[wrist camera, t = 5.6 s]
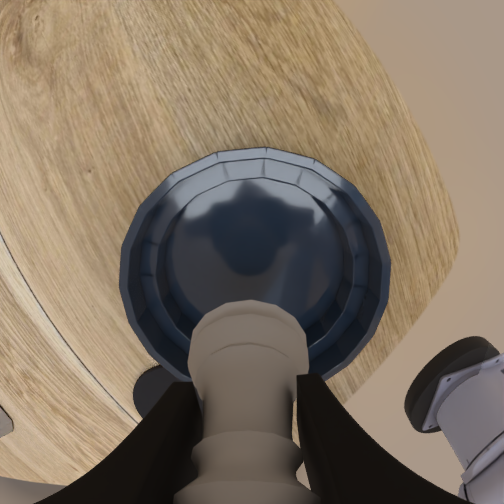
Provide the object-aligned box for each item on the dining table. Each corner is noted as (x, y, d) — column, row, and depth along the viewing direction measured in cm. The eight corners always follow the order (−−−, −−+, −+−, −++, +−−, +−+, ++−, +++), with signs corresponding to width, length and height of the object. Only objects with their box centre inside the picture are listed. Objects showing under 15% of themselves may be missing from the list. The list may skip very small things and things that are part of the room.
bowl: (359, 145, 15) (390, 143, 12) (357, 346, 19) (376, 382, 15) (129, 168, 16) (96, 172, 12) (169, 362, 20) (155, 401, 16)
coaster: (241, 360, 19) (241, 363, 19) (253, 439, 22) (253, 442, 22) (119, 362, 20) (117, 365, 19) (153, 437, 22) (152, 441, 22)
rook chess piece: (245, 401, 12) (242, 568, 5) (169, 339, 11) (100, 521, 4) (327, 345, 12) (389, 527, 4) (252, 269, 11) (253, 487, 3)
